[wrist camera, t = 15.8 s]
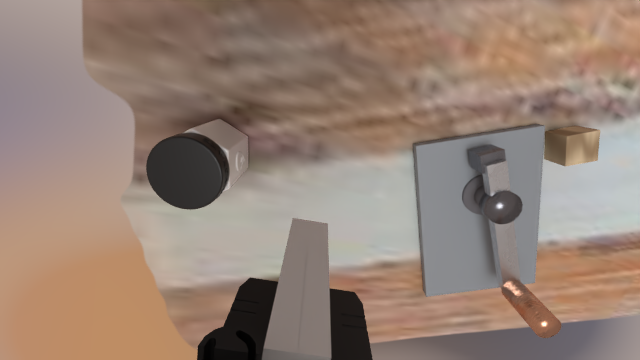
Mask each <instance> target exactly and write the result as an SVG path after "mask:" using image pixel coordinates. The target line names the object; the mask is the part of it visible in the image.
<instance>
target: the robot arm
mask: <svg viewBox="0 0 640 360" xmlns="http://www.w3.org/2000/svg"><path fill="white" fill-rule="evenodd" d="M197 360H372V354H371V349H370V343H369V337H368V332H367V326H366V320H365V315H364V309H363V304H362V302H361V301H360V299H359V298H358V296H357V295H356V293H355V292H350V291H343V290H337V289H330V288H329V256H328V224H327V223H321V222H314V221H308V220H302V219H295V218H293V220H292V224H291V229H290V233H289V238H288V242H287V246H286V251H285V255H284V260H283V264H282V268H281V273H280V277H279V282H276V281H269V280H263V279H256V278H249V279H248V280H247V281H246V282H245V283H243V284H242V285H241V286H240V287H239V290H238V292H237V295H236V297H235V300H234V302H233V304H232V307H231V309H230V312H229V314H228V317H227V319H226V321H225V324H224V326H223V327H221V328H218V329H215V330H213V331H212V332H210V333H209V334H208V335H206V336H205V337H204V338H203V340H202V341H201V342H200V344H199V345H198V356H197Z"/></svg>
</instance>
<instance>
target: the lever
mask: <svg viewBox="0 0 640 360" xmlns="http://www.w3.org/2000/svg"><path fill="white" fill-rule="evenodd" d="M468 153H469V159H470V166H471V168H473V169H475V170H476V171H478V172H480V173H482V174H483V181H484V189H485V193H484V194H483V195H482V197H481V199H480V202H479V208H480V211H481V212H482V214H483V215H485V216H486V217H487V218H488V219H489V224H490V231H491V238H492V246H493V253H494V260H495V267H496V274H497V281H498V285H499V286H500V287H501V288H502V294H503V295H504V296H505V298H506V299H507V300H508V301H509V302H510V304H511V305H512V306H513V307H514V308H515V309H516V311H517V312H518V313H519V314H520V315H521V317H522V318H523V319H524V320H525V321H526V322H527V324H528V325H529V326H530V327H531V328H532V330H533V331H534V332H535V333H536V334H537V335H538V336H539V337H542V338H549V337H552V336H554V335H555V334H557V333H558V332H559V330H560V329H561V322H560V321H559V320H558V319H557V318H556V317H555V316H554V315H553V314H552V313H551V312H550V311H549V310H548V309H547V308H546V307H545V306H544V305H543V304H542V303H541V302H540V301H539V300H538V299H537V298H536V297H535V296H534V295H533V294H532V293H531V292H530V291H529V290H528V289H527V288H526V287H525V286H524V285H523V284H522V283H521V280H520V271H519V262H518V253H517V245H516V236H515V227H514V220H515V219H516V218H517V217H518V216H519V215H520V213H521V211H522V207H523V204H522V200H521V198H520V197H519V196H518V195H516V194H515V193H513V192H511V191H510V182H509V173H508V165H507V161H506V156H505V149H502V148H500V147H497V146H494V145H491V144H490V145H487V146H483V147H479V148H476V149H472V150H469V151H468Z"/></svg>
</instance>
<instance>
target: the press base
mask: <svg viewBox="0 0 640 360" xmlns="http://www.w3.org/2000/svg"><path fill="white" fill-rule="evenodd" d="M544 132H545V126H544V125H539V124H535V125H529V126H522V127H516V128H510V129H503V130H497V131H491V132H485V133H478V134H472V135H466V136H459V137H453V138H447V139H440V140H434V141H428V142H422V143H415V144H413V152H414V166H415V180H416V194H417V208H418V222H419V236H420V250H421V264H422V278H423V291H424V293H425V295H426V297H428V296H435V295H443V294H451V293H459V292H467V291H475V290H482V289H490V288H498V287H500V286H499V285H498V281H497V274H496V267H495V260H494V253H493V246H492V238H491V231H490V224H489V219H488V218H487V217H486V216H485V215H483V214H482V212H481V211H480V208H479V202H480V199H481V197H482V195H483V194H484V193H485V189H484V181H483V174H482V173H480V172H478V171H476V170H475V169H473V168H471V166H470V159H469V153H468V151H469V150H472V149H476V148H479V147H483V146H487V145H490V144H491V145H494V146H497V147H500V148H502V149H505V156H506V161H507V165H508V173H509V182H510V191H511V192H513V193H515V194H516V195H518V196H519V197H520V198H521V200H522V204H523V207H522V211H521V213H520V215H519V216H518V217H517V218H516V219H515V220H514V227H515V236H516V245H517V253H518V262H519V271H520V280H521V283H522V284H530V283H535V272H536V256H537V241H538V225H539V210H540V194H541V179H542V163H543V148H544Z"/></svg>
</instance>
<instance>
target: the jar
mask: <svg viewBox="0 0 640 360" xmlns="http://www.w3.org/2000/svg"><path fill="white" fill-rule="evenodd" d="M248 167H249V163H248V136H247V135H245V134H244V133H242V132H240V131H239V130H237V129H236V128H234V127H232V126H231V125H229V124H228V123H226V122H224V121H223V120H221V119H216V120H214V121H211V122H208V123H205V124H202V125H199V126H196V127H193V128H191V129H189V130H187V131H185V132H183V133H181V134H177V135H175V136H172V137H169V138H166V139H164V140H162V141H160V142H159V143H158V144H157V145H156V146H155V147H154V148H153V149H152V150H151V152H150V154H149V156H148V159H147V165H146V170H147V176H148V180H149V182H150V184H151V186H152V188H153V190H154V191H155V192H156V193H157V195H158V196H159V197H160V198H162V199H163V200H164V201H165V202H167V203H169V204H171V205H173V206H175V207H178V208H182V209H198V208H202V207H205V206H207V205H209V204H210V203H212V202H213V201H214V200H215V199H216V198H218V197H219V196H220V195H221V193H222V192H224V191H226V190H228V189H230V187H231V186H232V185H233V184H234V183H235V182H236V181H237V180H238V178H239V177H240V176H241V175H242V174H243V173H244V172H245V171H246V169H247V168H248Z"/></svg>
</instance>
